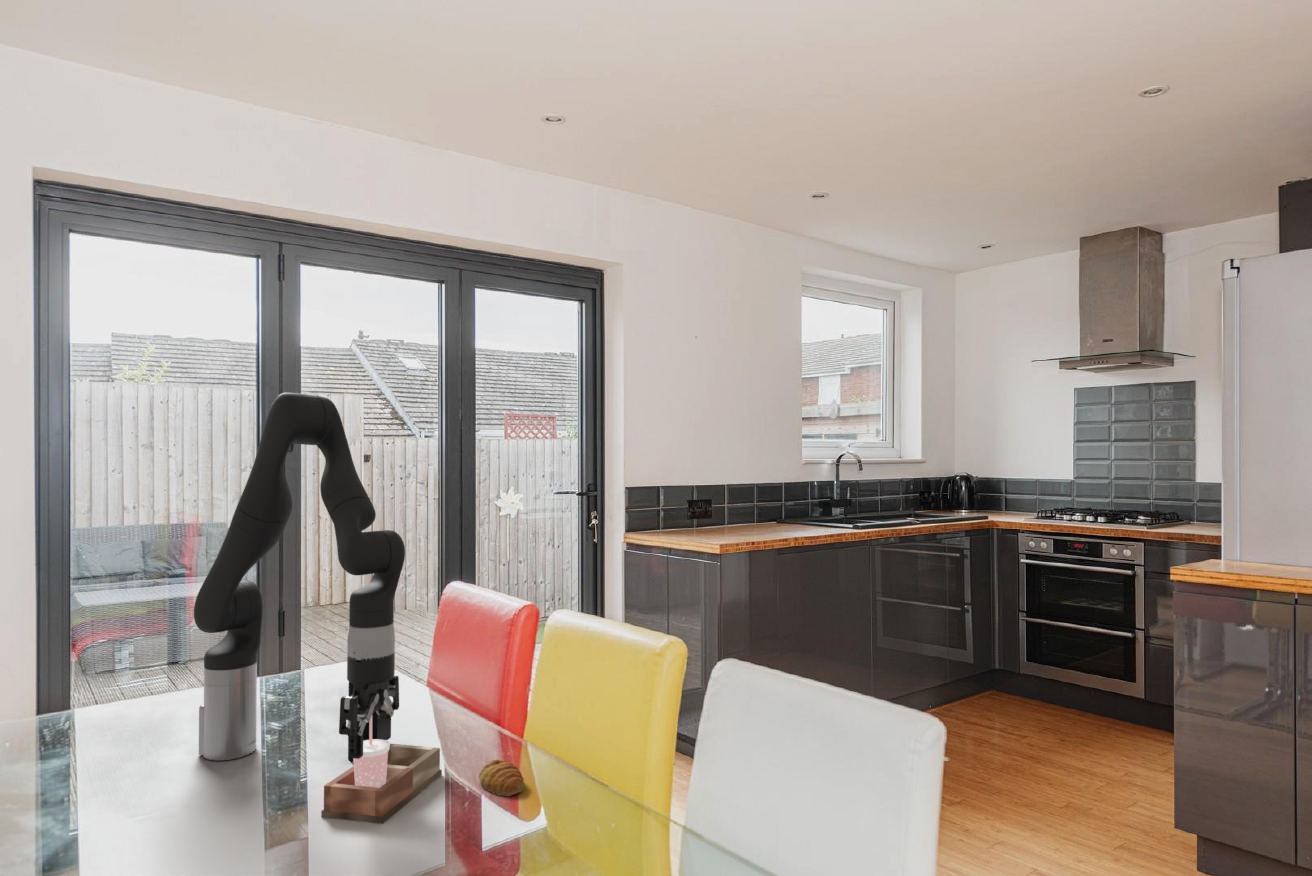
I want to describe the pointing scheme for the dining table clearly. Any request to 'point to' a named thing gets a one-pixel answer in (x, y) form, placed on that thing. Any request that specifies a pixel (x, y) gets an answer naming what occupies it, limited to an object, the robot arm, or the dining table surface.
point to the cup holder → (403, 783)
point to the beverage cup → (372, 762)
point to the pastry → (501, 778)
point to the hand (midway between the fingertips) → (370, 748)
